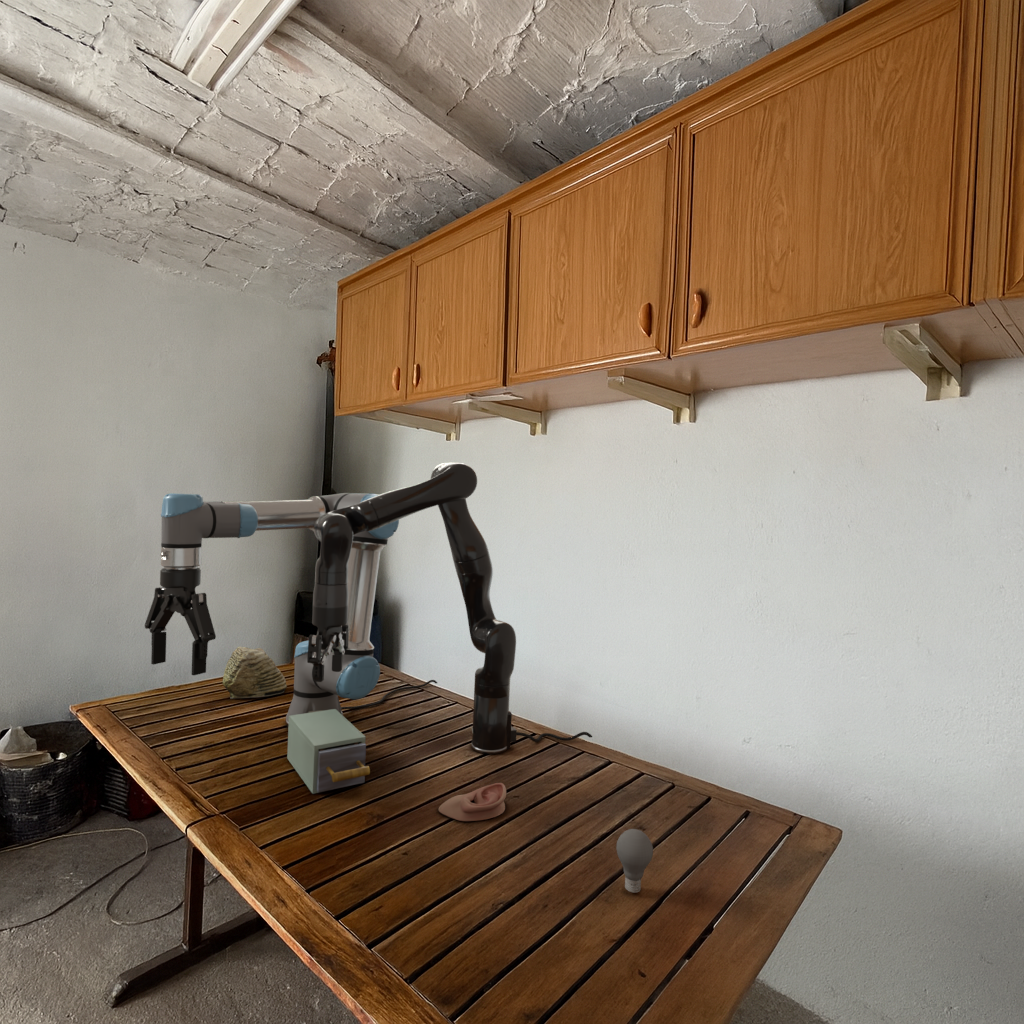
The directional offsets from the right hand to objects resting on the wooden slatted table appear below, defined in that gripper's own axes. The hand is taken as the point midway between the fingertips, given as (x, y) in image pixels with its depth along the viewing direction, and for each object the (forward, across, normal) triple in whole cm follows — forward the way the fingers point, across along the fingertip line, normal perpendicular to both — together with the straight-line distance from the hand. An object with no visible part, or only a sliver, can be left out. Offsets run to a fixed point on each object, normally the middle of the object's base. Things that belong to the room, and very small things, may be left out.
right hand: (327, 676), depth 141 cm
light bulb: (+24, -22, -68) cm, 75 cm away
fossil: (+24, +48, +49) cm, 73 cm away
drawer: (+23, +1, -1) cm, 23 cm away
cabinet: (+24, +5, +3) cm, 24 cm away
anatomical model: (+24, -3, -35) cm, 42 cm away
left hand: (-2, -13, +27) cm, 30 cm away
